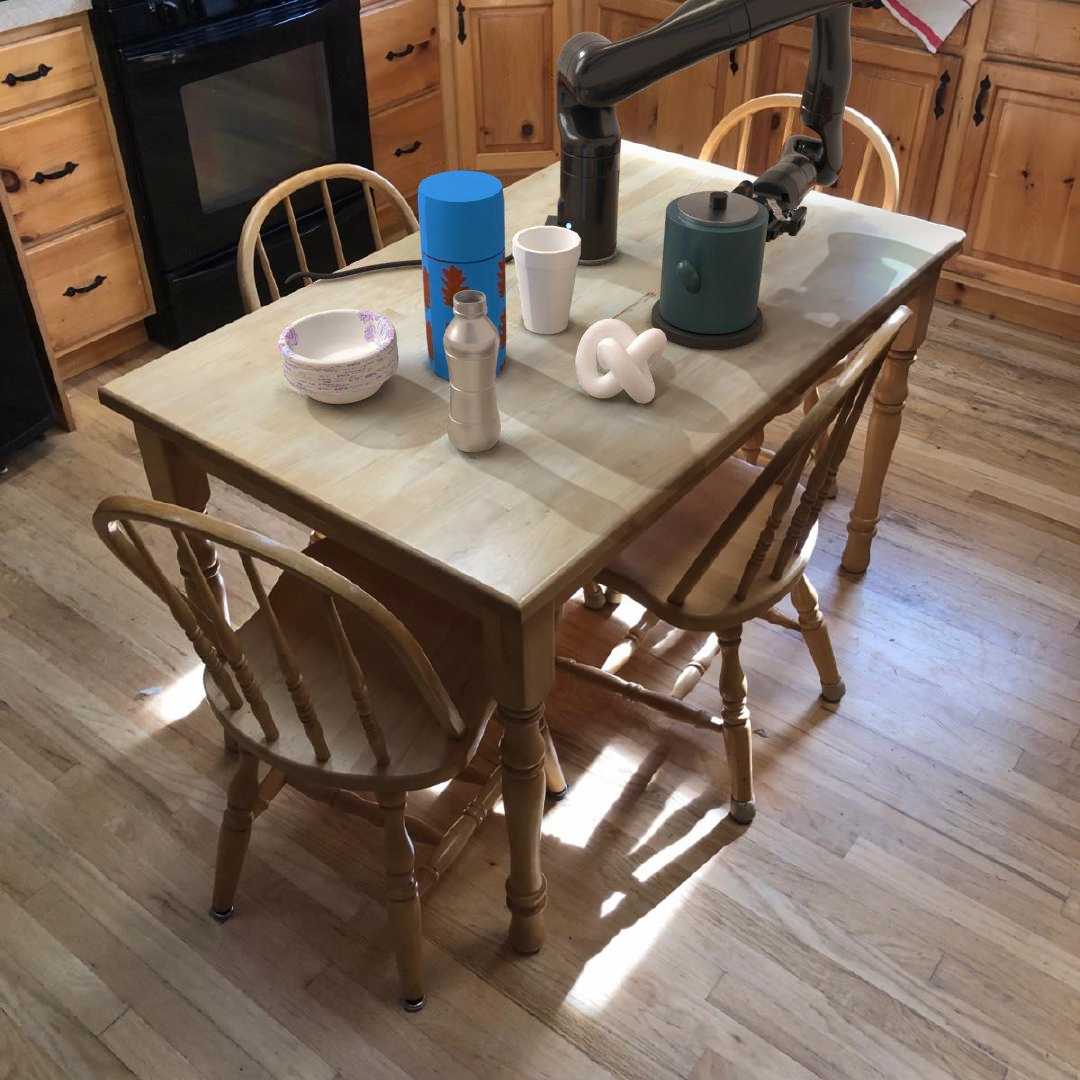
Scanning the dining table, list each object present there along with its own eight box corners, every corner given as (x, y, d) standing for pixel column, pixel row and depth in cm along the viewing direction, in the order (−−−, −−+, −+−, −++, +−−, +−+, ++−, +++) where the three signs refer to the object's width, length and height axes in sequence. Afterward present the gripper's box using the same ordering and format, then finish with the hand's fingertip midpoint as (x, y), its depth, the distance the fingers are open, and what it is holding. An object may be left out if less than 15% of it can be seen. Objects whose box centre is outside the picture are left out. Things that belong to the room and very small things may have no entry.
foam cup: (588, 317, 173) (591, 232, 166) (562, 344, 167) (564, 258, 159) (530, 304, 177) (529, 221, 169) (502, 331, 170) (501, 245, 162)
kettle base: (646, 345, 167) (647, 334, 166) (655, 294, 179) (656, 285, 178) (761, 353, 165) (762, 343, 164) (762, 302, 177) (763, 292, 176)
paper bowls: (265, 380, 159) (257, 327, 154) (364, 348, 166) (359, 296, 161) (319, 430, 149) (312, 375, 144) (422, 393, 156) (418, 339, 151)
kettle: (723, 356, 160) (736, 235, 150) (629, 332, 166) (636, 213, 155) (782, 289, 177) (797, 175, 166) (695, 269, 182) (705, 157, 171)
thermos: (496, 386, 158) (492, 205, 142) (418, 378, 159) (406, 198, 144) (513, 348, 166) (512, 173, 151) (440, 340, 168) (430, 167, 152)
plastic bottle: (446, 431, 149) (438, 285, 136) (500, 429, 149) (497, 283, 137) (447, 460, 144) (439, 310, 131) (503, 458, 144) (500, 308, 132)
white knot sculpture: (678, 412, 153) (683, 350, 147) (587, 420, 151) (589, 358, 145) (656, 369, 161) (660, 309, 156) (570, 377, 160) (571, 316, 154)
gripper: (736, 161, 184) (696, 196, 173) (824, 178, 179) (789, 215, 168) (731, 207, 189) (692, 244, 178) (817, 225, 184) (782, 264, 172)
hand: (739, 230), depth 173 cm, fingers open, 8 cm apart
